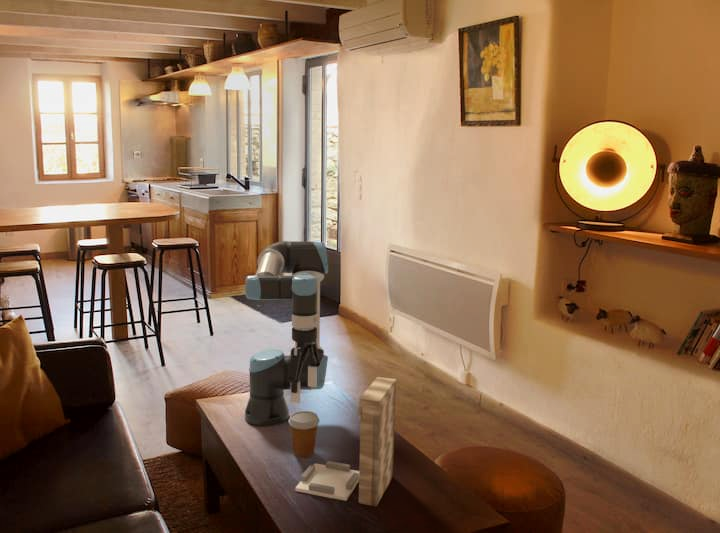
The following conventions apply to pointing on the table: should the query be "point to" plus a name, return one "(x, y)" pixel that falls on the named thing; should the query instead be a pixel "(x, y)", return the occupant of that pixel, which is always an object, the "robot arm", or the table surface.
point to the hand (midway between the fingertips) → (304, 394)
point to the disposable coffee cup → (303, 432)
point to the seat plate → (329, 480)
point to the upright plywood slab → (376, 439)
